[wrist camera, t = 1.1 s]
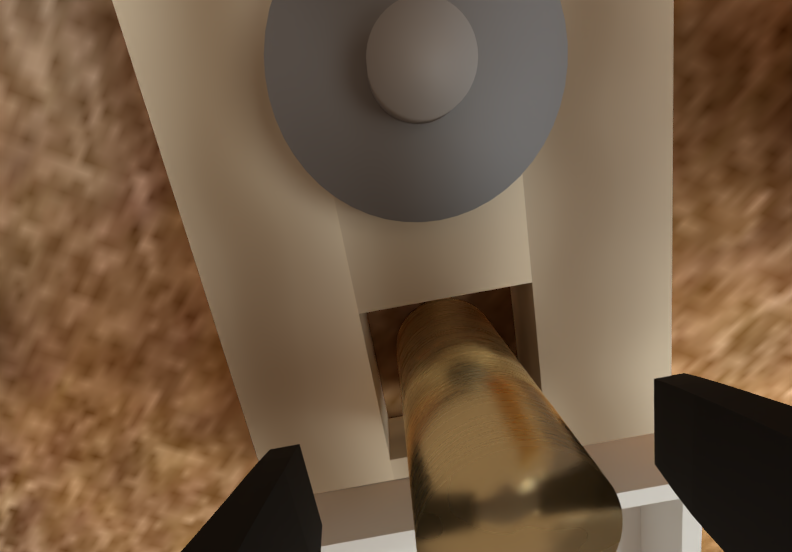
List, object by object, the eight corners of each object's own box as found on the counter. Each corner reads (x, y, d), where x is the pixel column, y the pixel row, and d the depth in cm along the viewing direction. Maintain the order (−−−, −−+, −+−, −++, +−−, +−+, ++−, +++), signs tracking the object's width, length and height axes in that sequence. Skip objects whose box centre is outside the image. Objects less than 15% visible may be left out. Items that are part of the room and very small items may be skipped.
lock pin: (487, 290, 12) (620, 430, 6) (498, 379, 13) (625, 596, 6) (388, 308, 12) (399, 470, 6) (405, 396, 13) (432, 631, 6)
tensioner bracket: (616, -91, 10) (768, -260, 6) (629, 393, 14) (729, 481, 10) (151, -5, 10) (7, -117, 6) (286, 454, 14) (249, 567, 10)
